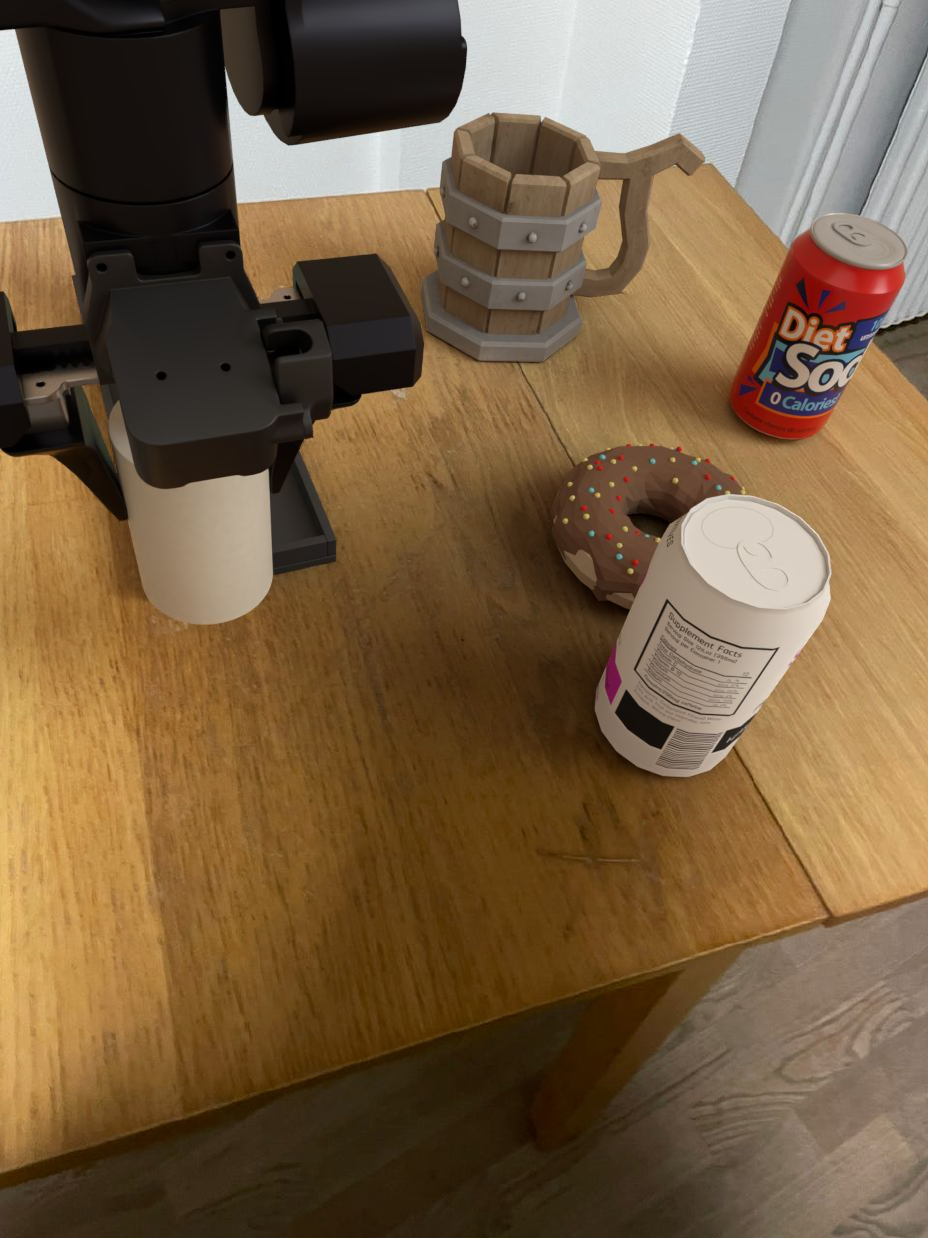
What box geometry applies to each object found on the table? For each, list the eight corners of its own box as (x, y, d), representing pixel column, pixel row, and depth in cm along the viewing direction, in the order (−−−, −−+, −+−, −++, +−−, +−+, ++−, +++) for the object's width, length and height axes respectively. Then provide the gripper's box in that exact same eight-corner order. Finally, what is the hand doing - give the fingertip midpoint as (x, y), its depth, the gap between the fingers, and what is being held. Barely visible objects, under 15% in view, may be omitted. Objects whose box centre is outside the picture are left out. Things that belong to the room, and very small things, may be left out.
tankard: (431, 361, 71) (452, 170, 59) (416, 269, 78) (431, 84, 67) (673, 366, 74) (739, 186, 63) (636, 277, 82) (688, 102, 70)
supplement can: (569, 680, 54) (636, 502, 42) (687, 649, 56) (782, 472, 45) (630, 800, 50) (724, 638, 38) (756, 760, 52) (881, 597, 40)
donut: (640, 667, 55) (664, 617, 51) (505, 523, 61) (518, 468, 57) (793, 576, 61) (825, 526, 57) (657, 453, 67) (677, 400, 63)
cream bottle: (153, 637, 43) (106, 428, 33) (132, 538, 47) (84, 321, 36) (286, 610, 45) (281, 406, 35) (257, 518, 49) (244, 307, 38)
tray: (154, 601, 54) (149, 579, 52) (76, 299, 70) (71, 274, 69) (336, 561, 57) (336, 539, 56) (222, 282, 74) (219, 258, 72)
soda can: (773, 372, 75) (855, 196, 64) (842, 430, 72) (943, 255, 60) (704, 398, 72) (777, 218, 60) (772, 459, 69) (865, 281, 57)
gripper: (-199, 347, 22) (-9, 692, 35) (501, 269, 28) (449, 590, 40) (-186, 129, 28) (-28, 490, 40) (388, 101, 34) (374, 425, 46)
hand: (198, 500), depth 42 cm, fingers closed on cream bottle, 6 cm apart
